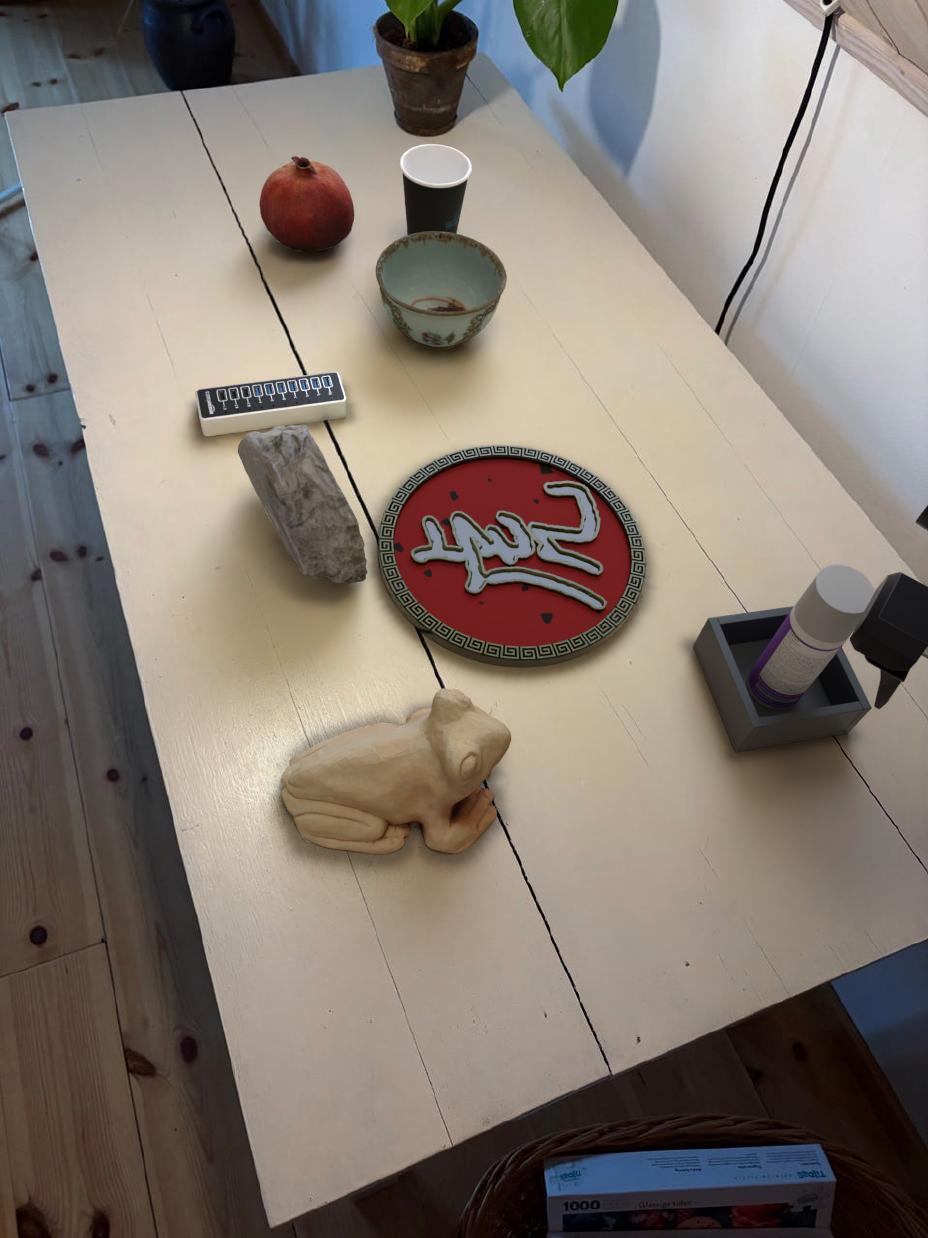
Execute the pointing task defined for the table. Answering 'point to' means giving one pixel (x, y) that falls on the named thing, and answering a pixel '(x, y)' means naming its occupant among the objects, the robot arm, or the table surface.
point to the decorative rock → (305, 503)
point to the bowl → (440, 287)
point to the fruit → (306, 206)
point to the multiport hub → (271, 403)
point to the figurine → (400, 780)
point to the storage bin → (726, 665)
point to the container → (810, 636)
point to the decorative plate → (511, 556)
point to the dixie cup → (434, 187)
